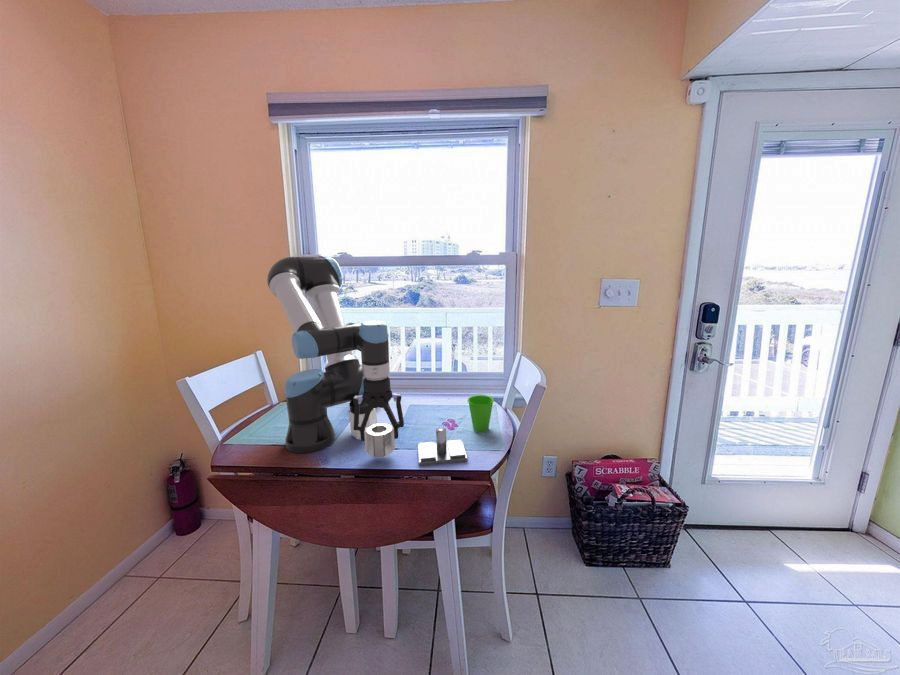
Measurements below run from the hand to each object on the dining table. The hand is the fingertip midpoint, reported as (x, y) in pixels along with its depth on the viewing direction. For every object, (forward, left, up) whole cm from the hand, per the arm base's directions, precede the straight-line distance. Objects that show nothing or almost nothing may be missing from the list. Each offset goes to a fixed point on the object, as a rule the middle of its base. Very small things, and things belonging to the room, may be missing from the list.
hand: (380, 448), depth 103 cm
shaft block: (+18, -1, -3) cm, 18 cm away
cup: (+33, +13, -3) cm, 36 cm away
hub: (0, 0, 0) cm, 1 cm away
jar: (-7, +17, -3) cm, 19 cm away
